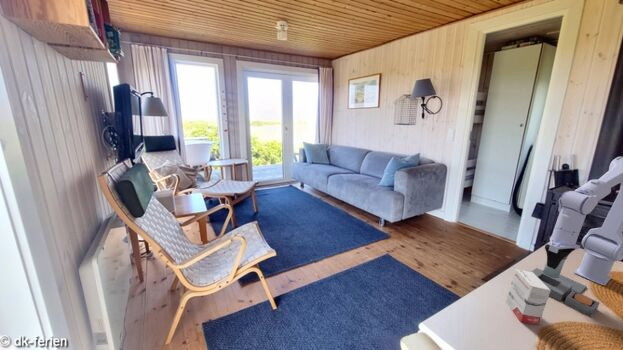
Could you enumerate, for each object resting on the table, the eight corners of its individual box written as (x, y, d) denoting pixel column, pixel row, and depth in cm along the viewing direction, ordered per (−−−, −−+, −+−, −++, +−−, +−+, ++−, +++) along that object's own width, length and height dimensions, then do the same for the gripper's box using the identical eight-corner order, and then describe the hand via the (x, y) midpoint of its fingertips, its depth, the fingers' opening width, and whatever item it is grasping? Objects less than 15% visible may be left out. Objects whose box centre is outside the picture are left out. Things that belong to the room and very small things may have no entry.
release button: (574, 298, 83) (577, 292, 82) (591, 306, 80) (594, 300, 79) (570, 302, 81) (573, 296, 80) (587, 311, 78) (590, 304, 77)
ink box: (539, 326, 72) (552, 290, 69) (520, 322, 73) (532, 287, 70) (522, 303, 80) (533, 270, 77) (504, 300, 81) (514, 268, 78)
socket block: (534, 273, 95) (536, 267, 95) (570, 290, 87) (573, 284, 86) (522, 282, 90) (524, 276, 89) (559, 301, 82) (562, 294, 81)
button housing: (570, 296, 84) (573, 290, 84) (596, 309, 79) (599, 302, 79) (564, 303, 81) (566, 296, 80) (590, 316, 76) (593, 310, 76)
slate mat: (559, 275, 95) (560, 274, 95) (586, 287, 89) (586, 286, 89) (552, 281, 91) (552, 280, 91) (579, 294, 86) (579, 293, 86)
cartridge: (545, 268, 90) (552, 248, 88) (561, 276, 87) (569, 255, 84) (540, 272, 88) (547, 251, 86) (556, 280, 84) (564, 258, 82)
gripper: (576, 239, 76) (561, 279, 79) (591, 229, 83) (577, 265, 87) (546, 229, 81) (533, 266, 85) (563, 220, 89) (550, 254, 92)
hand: (554, 265), depth 86 cm, fingers closed on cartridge, 4 cm apart
